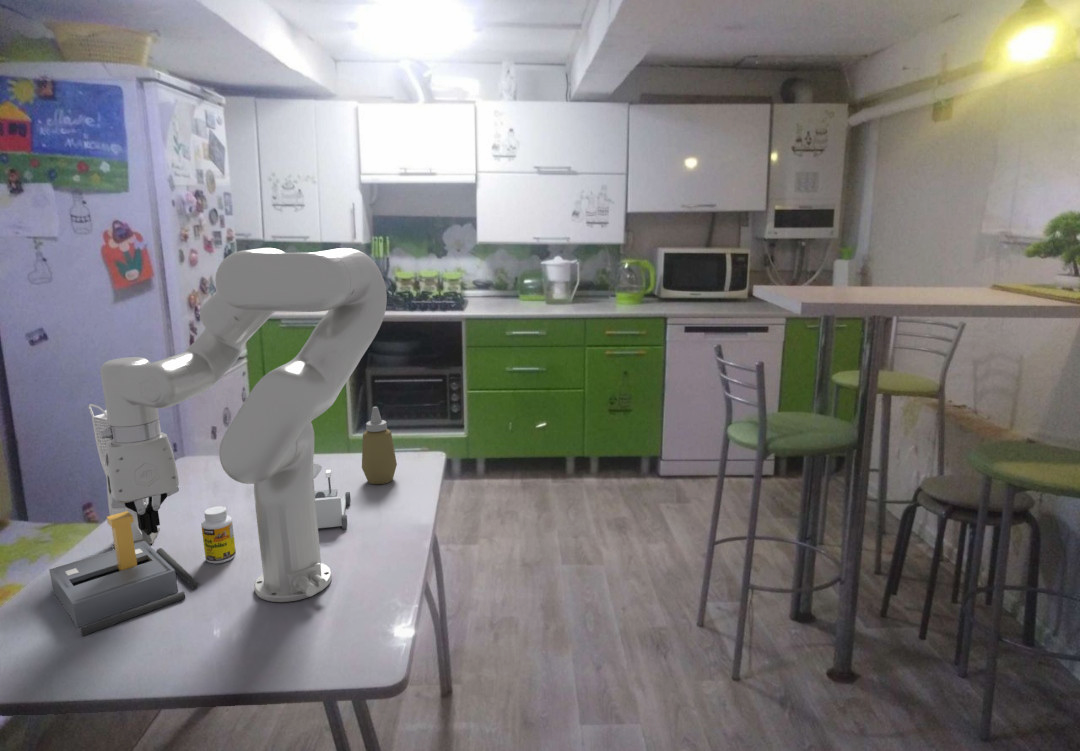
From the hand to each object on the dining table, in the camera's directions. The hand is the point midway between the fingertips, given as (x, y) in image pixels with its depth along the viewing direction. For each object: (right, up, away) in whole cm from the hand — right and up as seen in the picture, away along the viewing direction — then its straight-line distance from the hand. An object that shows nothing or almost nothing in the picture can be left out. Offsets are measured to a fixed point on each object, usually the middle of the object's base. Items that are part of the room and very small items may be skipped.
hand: (150, 531), depth 127 cm
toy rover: (+22, -3, +27) cm, 35 cm away
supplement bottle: (+9, -7, +9) cm, 14 cm away
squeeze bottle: (+30, +2, +45) cm, 55 cm away
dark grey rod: (+3, -8, +4) cm, 9 cm away
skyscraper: (-12, -5, +17) cm, 22 cm away
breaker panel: (-5, -10, -3) cm, 11 cm away
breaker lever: (-3, -6, -2) cm, 7 cm away
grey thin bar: (+3, -11, -10) cm, 16 cm away
